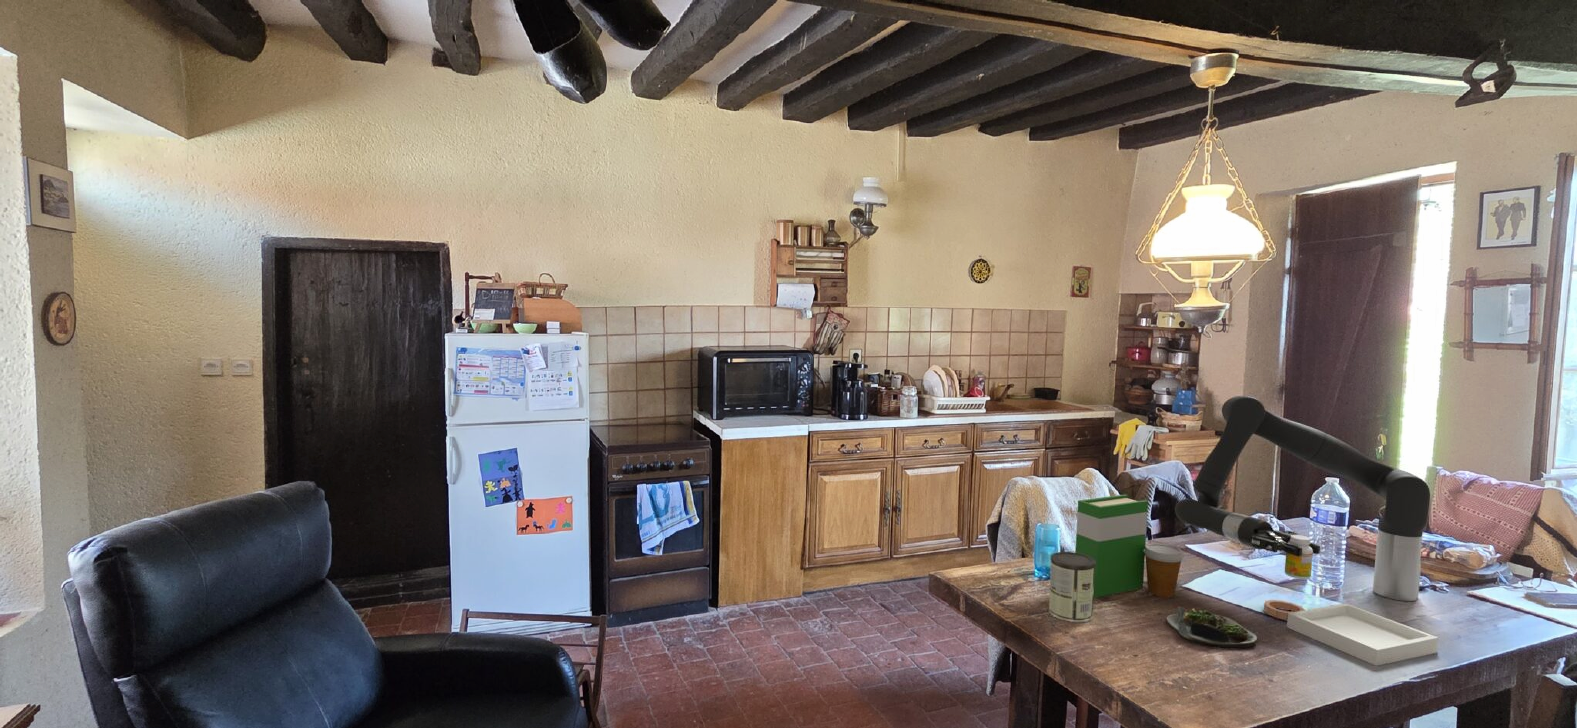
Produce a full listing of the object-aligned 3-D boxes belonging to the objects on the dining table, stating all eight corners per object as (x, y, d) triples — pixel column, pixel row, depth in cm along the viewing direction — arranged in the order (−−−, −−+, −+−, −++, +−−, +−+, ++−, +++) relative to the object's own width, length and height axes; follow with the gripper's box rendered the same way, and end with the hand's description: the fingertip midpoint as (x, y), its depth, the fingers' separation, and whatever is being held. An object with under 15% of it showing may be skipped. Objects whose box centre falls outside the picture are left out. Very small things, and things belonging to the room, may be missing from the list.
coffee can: (1058, 602, 192) (1061, 548, 191) (1099, 614, 185) (1102, 558, 184) (1040, 613, 185) (1043, 558, 184) (1082, 626, 178) (1085, 568, 177)
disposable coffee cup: (1186, 601, 194) (1188, 556, 193) (1146, 597, 196) (1149, 553, 195) (1175, 587, 204) (1177, 544, 203) (1137, 584, 206) (1139, 541, 205)
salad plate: (1146, 613, 187) (1147, 595, 186) (1218, 615, 187) (1219, 597, 187) (1188, 649, 168) (1189, 629, 167) (1268, 650, 168) (1269, 630, 167)
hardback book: (1120, 578, 210) (1125, 494, 208) (1143, 587, 203) (1148, 500, 201) (1073, 587, 202) (1078, 500, 200) (1095, 597, 196) (1100, 507, 194)
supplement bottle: (1279, 571, 187) (1281, 533, 186) (1299, 571, 188) (1302, 533, 187) (1295, 579, 182) (1298, 540, 181) (1316, 579, 182) (1319, 540, 181)
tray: (1344, 616, 186) (1346, 603, 186) (1437, 652, 167) (1438, 637, 167) (1286, 627, 180) (1287, 612, 179) (1376, 665, 161) (1377, 649, 160)
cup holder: (1280, 605, 193) (1280, 598, 193) (1312, 618, 185) (1313, 611, 185) (1256, 609, 190) (1256, 602, 190) (1288, 622, 182) (1288, 615, 182)
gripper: (1227, 518, 195) (1289, 538, 179) (1268, 514, 200) (1332, 533, 184) (1225, 546, 196) (1287, 569, 180) (1266, 541, 200) (1330, 563, 184)
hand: (1309, 550), depth 182 cm, fingers closed on supplement bottle, 5 cm apart
